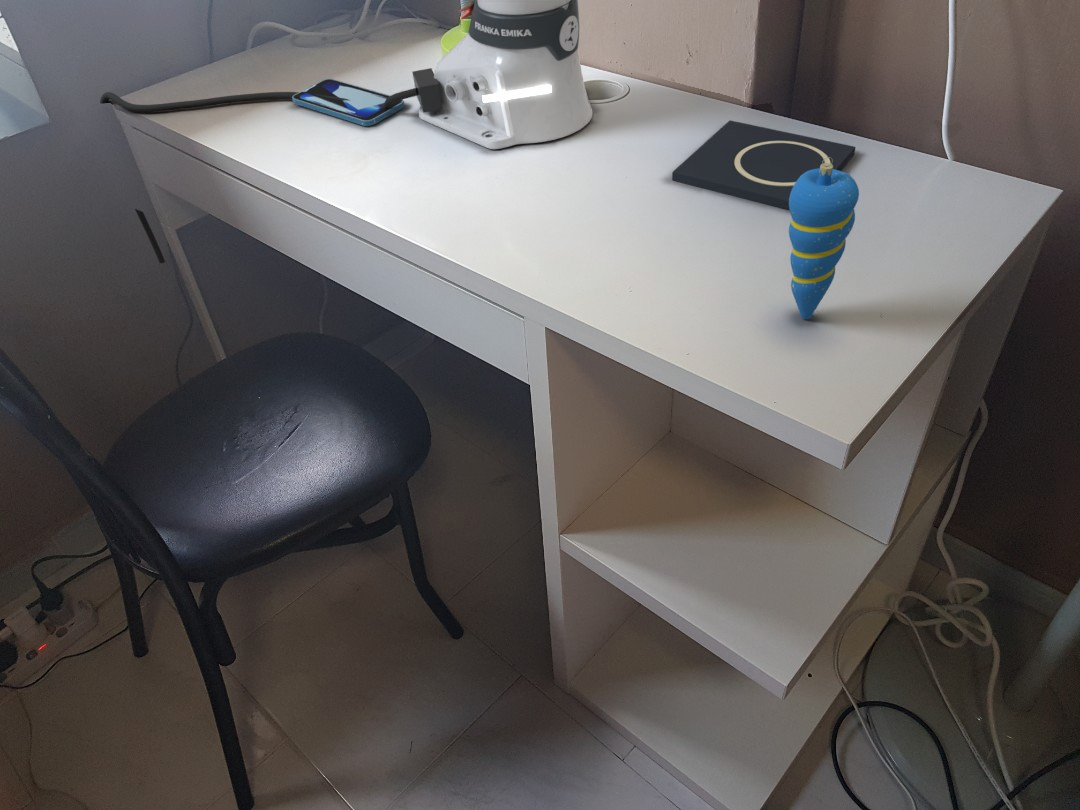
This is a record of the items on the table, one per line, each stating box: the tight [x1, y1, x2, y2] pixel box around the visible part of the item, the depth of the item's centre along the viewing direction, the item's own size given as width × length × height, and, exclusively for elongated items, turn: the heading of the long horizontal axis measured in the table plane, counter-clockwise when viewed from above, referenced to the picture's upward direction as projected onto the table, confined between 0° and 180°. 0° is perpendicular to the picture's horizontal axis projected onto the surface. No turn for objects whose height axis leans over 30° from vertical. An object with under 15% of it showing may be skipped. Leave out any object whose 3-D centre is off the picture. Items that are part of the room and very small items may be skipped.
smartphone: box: [291, 78, 405, 127], centre depth 112 cm, size 7×1×15 cm
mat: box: [671, 119, 856, 211], centre depth 91 cm, size 15×14×1 cm
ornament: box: [788, 157, 860, 320], centre depth 67 cm, size 5×5×15 cm
